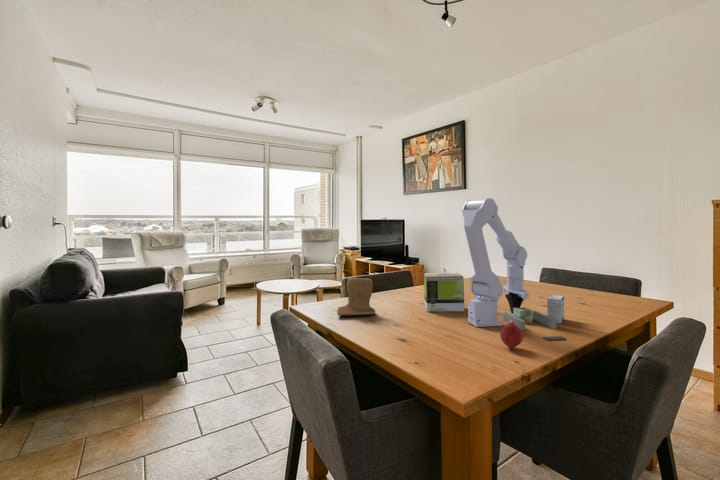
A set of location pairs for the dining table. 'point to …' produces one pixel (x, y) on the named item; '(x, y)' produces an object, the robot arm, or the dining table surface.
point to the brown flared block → (357, 298)
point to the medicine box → (556, 308)
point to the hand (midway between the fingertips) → (514, 313)
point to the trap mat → (554, 338)
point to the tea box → (444, 291)
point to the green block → (523, 314)
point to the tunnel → (535, 316)
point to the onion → (511, 335)
